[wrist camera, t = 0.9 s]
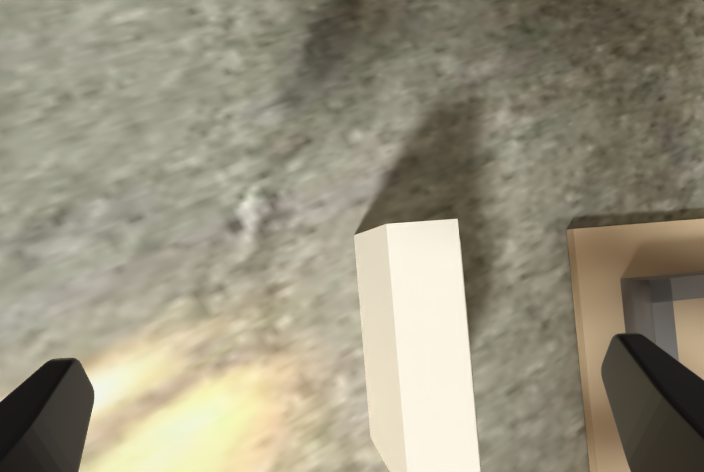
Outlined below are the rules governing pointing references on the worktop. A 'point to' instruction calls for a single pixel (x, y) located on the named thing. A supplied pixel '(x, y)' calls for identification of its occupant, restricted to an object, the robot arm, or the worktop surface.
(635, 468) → the robot arm
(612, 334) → the track board
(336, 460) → the worktop surface
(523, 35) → the worktop surface
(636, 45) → the worktop surface
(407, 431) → the door panel
